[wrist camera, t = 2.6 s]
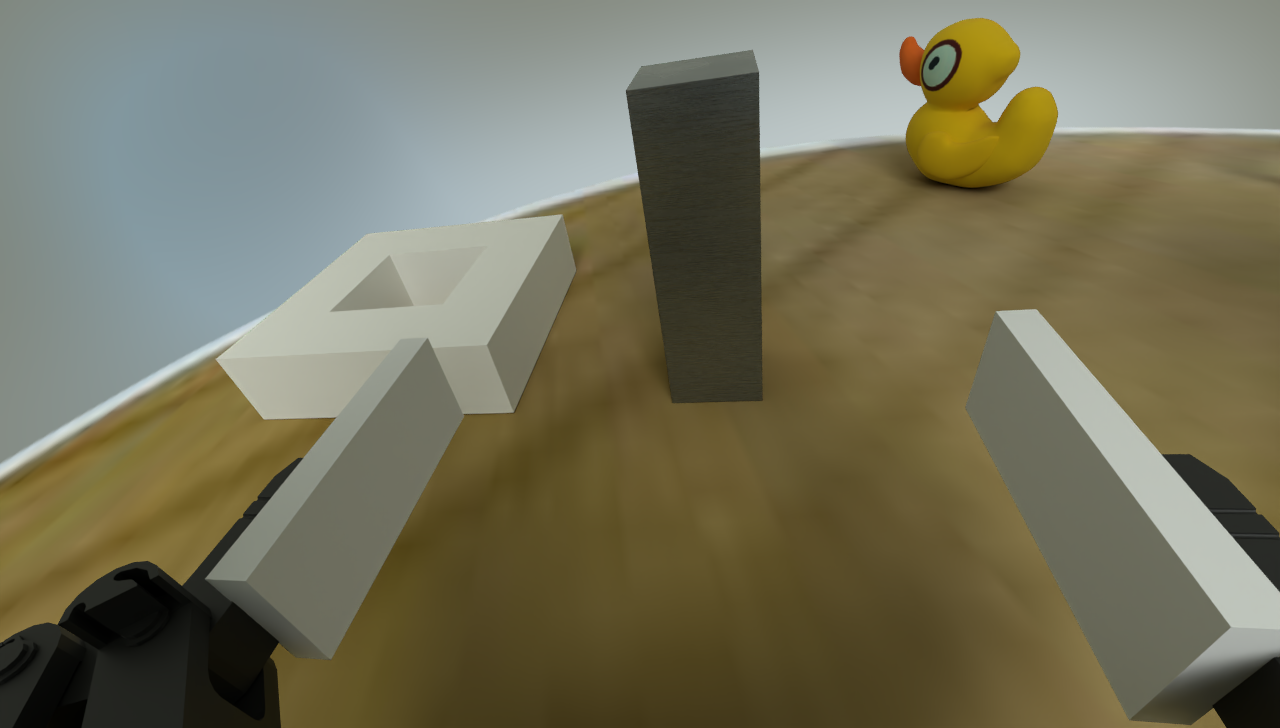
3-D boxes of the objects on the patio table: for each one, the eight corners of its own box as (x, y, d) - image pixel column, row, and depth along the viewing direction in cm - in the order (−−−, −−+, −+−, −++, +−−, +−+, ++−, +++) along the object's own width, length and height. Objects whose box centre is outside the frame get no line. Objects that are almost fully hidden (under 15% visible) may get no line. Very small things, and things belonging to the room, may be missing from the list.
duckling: (862, 173, 42) (877, 27, 36) (911, 155, 44) (934, 11, 38) (998, 213, 34) (1048, 30, 28) (1054, 188, 35) (1113, 10, 29)
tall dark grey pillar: (757, 346, 27) (752, 50, 19) (762, 400, 23) (758, 72, 16) (678, 350, 27) (641, 66, 19) (672, 403, 24) (625, 90, 16)
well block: (576, 270, 36) (562, 214, 34) (513, 412, 25) (486, 344, 23) (392, 284, 39) (367, 233, 36) (263, 419, 28) (215, 359, 25)
